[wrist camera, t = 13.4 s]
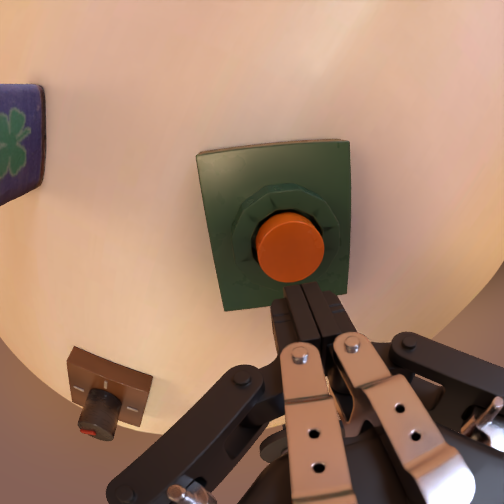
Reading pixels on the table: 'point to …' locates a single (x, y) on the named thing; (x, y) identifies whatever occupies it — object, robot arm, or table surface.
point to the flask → (21, 139)
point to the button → (289, 247)
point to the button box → (275, 211)
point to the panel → (108, 383)
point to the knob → (100, 415)
